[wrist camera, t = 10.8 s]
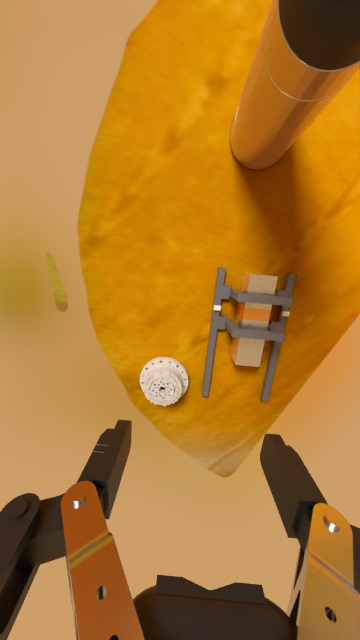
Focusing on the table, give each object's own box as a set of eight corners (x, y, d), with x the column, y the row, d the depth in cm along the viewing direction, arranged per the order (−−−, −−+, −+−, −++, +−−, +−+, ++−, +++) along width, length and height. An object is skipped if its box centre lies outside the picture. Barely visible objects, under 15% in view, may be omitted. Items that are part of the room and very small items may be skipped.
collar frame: (217, 267, 37) (224, 267, 30) (293, 273, 37) (317, 275, 30) (201, 393, 43) (204, 416, 37) (265, 399, 43) (280, 422, 37)
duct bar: (243, 273, 37) (250, 274, 33) (267, 275, 37) (278, 276, 33) (230, 354, 41) (235, 364, 37) (251, 356, 41) (259, 366, 37)
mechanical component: (168, 406, 45) (198, 375, 43) (167, 421, 41) (199, 387, 38) (132, 380, 44) (160, 346, 41) (126, 393, 39) (157, 356, 37)
